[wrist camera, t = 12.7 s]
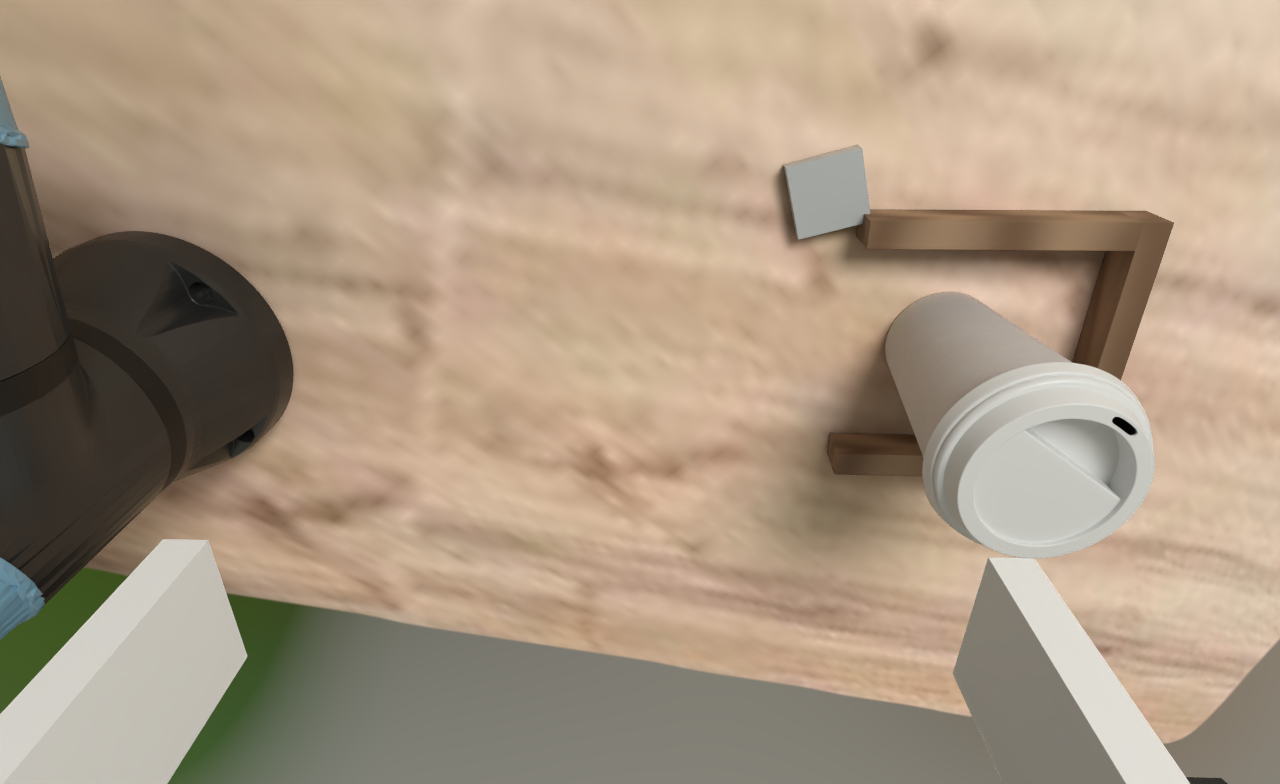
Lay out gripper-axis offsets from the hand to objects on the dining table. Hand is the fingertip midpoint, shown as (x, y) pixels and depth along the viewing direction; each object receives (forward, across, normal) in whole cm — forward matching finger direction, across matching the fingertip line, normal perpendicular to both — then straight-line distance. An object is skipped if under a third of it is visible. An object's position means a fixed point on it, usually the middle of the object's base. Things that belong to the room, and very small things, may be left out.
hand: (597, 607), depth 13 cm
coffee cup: (+31, +18, -8) cm, 37 cm away
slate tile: (+31, +10, 0) cm, 33 cm away
